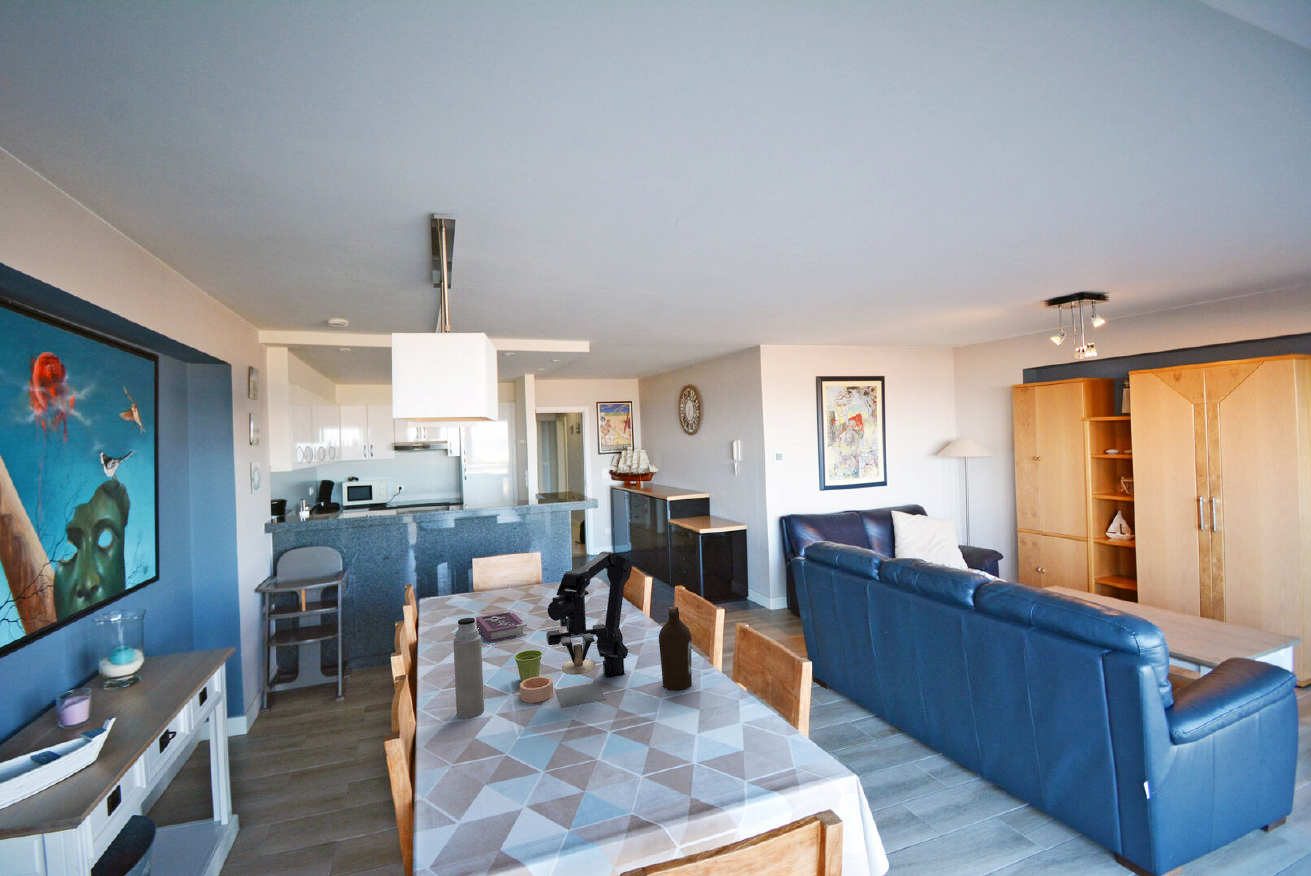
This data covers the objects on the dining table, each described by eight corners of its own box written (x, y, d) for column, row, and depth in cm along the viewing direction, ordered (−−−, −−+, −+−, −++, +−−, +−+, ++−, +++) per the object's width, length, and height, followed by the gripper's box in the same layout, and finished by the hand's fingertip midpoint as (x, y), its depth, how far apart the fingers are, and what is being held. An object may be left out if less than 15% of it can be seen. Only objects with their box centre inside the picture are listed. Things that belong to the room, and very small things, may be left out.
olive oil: (661, 692, 185) (657, 613, 185) (660, 679, 195) (656, 604, 196) (695, 690, 185) (691, 611, 186) (692, 677, 196) (688, 602, 196)
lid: (591, 660, 192) (590, 638, 192) (598, 671, 182) (597, 648, 182) (559, 665, 189) (558, 643, 189) (564, 676, 179) (563, 653, 179)
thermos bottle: (467, 705, 183) (463, 614, 183) (489, 707, 180) (485, 616, 180) (450, 716, 175) (446, 622, 175) (473, 719, 172) (469, 623, 173)
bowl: (550, 688, 192) (550, 674, 192) (554, 700, 183) (554, 686, 183) (519, 693, 190) (518, 679, 190) (521, 706, 180) (521, 691, 180)
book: (527, 635, 250) (526, 624, 250) (488, 643, 243) (488, 631, 243) (512, 621, 273) (511, 610, 273) (476, 628, 265) (476, 616, 265)
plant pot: (537, 686, 195) (535, 660, 195) (510, 685, 197) (509, 659, 197) (547, 675, 204) (546, 650, 204) (522, 674, 206) (521, 649, 206)
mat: (597, 684, 194) (597, 682, 194) (606, 701, 180) (606, 699, 180) (555, 691, 190) (555, 689, 190) (560, 709, 176) (560, 707, 176)
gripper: (600, 602, 196) (602, 649, 196) (543, 609, 190) (545, 657, 190) (607, 610, 185) (609, 660, 185) (547, 618, 180) (549, 669, 180)
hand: (578, 661), depth 185 cm, fingers closed on lid, 3 cm apart
